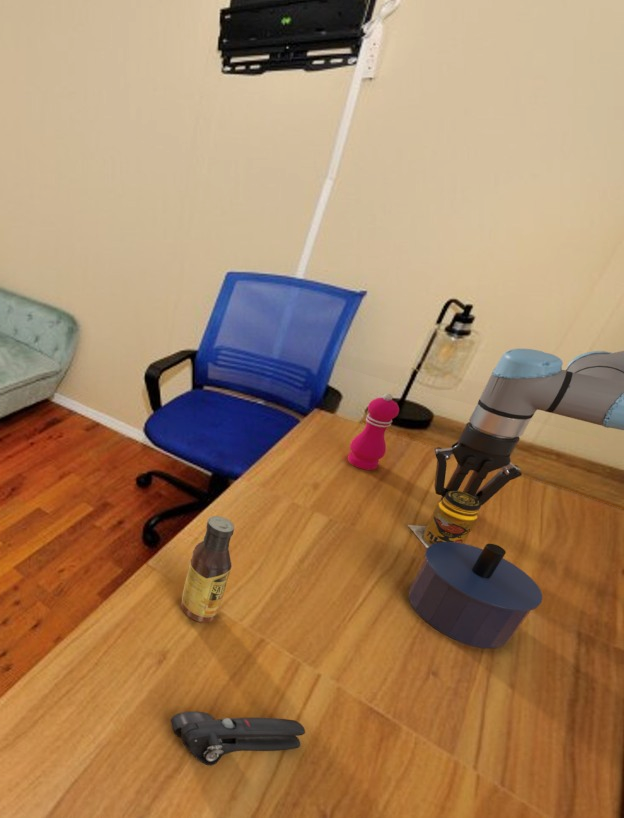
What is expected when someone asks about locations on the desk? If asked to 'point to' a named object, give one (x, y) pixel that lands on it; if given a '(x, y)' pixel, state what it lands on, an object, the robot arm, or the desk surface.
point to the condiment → (450, 519)
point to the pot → (461, 613)
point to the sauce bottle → (208, 572)
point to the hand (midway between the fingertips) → (442, 523)
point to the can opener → (233, 734)
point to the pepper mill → (373, 433)
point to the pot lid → (483, 575)
